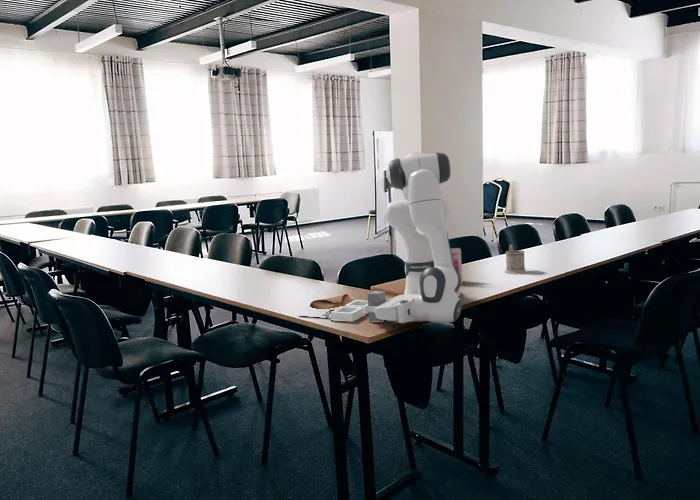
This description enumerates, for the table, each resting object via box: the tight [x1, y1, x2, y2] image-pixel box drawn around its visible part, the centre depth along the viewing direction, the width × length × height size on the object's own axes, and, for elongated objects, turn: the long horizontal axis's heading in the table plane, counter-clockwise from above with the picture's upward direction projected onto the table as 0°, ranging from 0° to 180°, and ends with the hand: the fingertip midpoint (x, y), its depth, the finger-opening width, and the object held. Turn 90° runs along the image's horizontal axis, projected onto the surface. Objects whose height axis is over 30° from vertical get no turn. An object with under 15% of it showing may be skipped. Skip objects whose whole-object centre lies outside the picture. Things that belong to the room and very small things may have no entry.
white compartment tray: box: [329, 299, 369, 321], centre depth 206 cm, size 21×9×3 cm, turn 151°
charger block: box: [366, 290, 386, 322], centre depth 194 cm, size 4×4×10 cm
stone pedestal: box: [504, 244, 527, 275], centre depth 266 cm, size 14×10×12 cm
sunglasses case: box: [309, 293, 354, 309], centre depth 219 cm, size 18×7×7 cm
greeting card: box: [450, 247, 463, 285], centre depth 250 cm, size 11×7×15 cm, turn 64°
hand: (375, 305), depth 195 cm, fingers open, 8 cm apart
